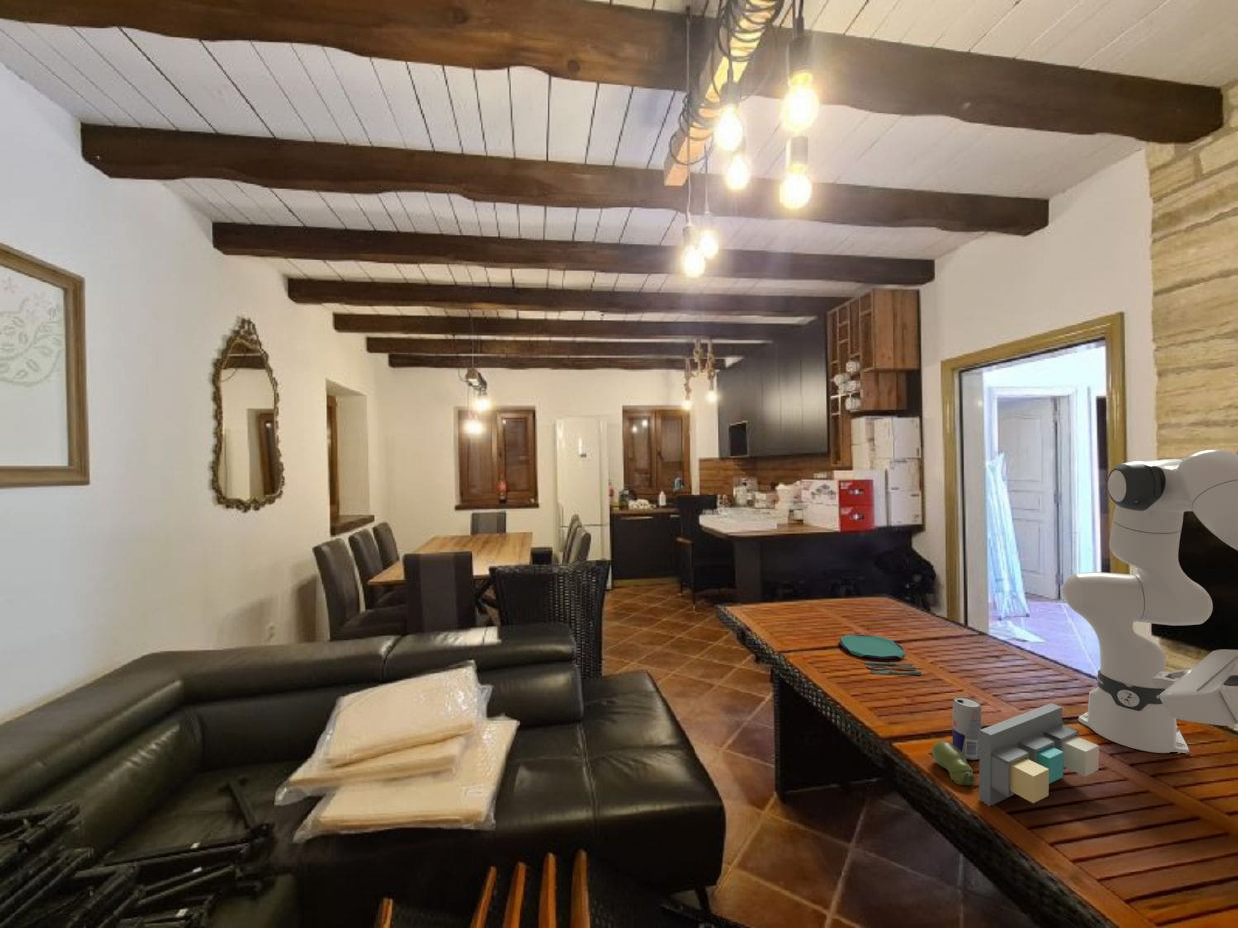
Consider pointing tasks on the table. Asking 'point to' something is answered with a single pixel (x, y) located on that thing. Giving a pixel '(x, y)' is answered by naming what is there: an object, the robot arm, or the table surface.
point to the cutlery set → (877, 652)
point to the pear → (953, 762)
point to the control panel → (1017, 747)
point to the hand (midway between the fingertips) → (1157, 679)
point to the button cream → (1080, 755)
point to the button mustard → (1029, 780)
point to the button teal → (1051, 762)
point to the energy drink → (967, 726)
